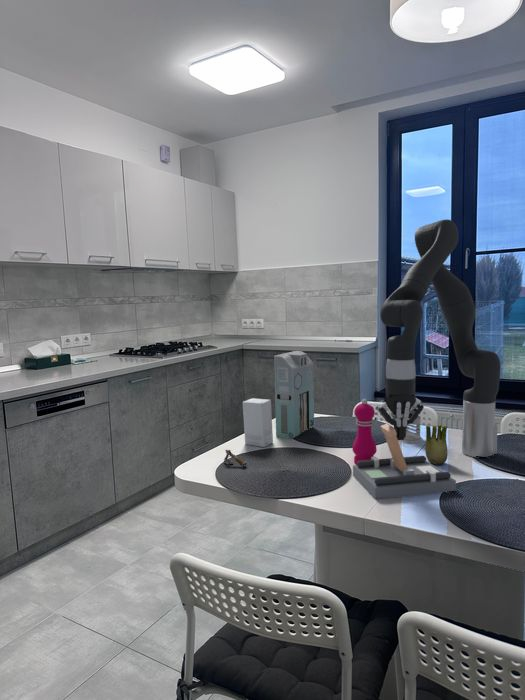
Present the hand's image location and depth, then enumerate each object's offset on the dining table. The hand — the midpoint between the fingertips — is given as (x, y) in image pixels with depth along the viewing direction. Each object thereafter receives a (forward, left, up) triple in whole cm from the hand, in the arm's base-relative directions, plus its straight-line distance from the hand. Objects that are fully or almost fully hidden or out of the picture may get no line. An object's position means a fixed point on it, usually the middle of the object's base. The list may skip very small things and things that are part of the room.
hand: (399, 439), depth 125 cm
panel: (-1, 0, -12) cm, 12 cm away
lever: (-1, 0, -8) cm, 8 cm away
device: (+16, -54, -13) cm, 58 cm away
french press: (-20, -36, -13) cm, 43 cm away
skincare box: (+32, -43, -13) cm, 55 cm away
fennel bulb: (-18, -12, -13) cm, 25 cm away
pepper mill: (+3, -17, -13) cm, 22 cm away
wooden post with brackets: (+42, -24, -13) cm, 50 cm away
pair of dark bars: (-1, 0, -9) cm, 9 cm away
